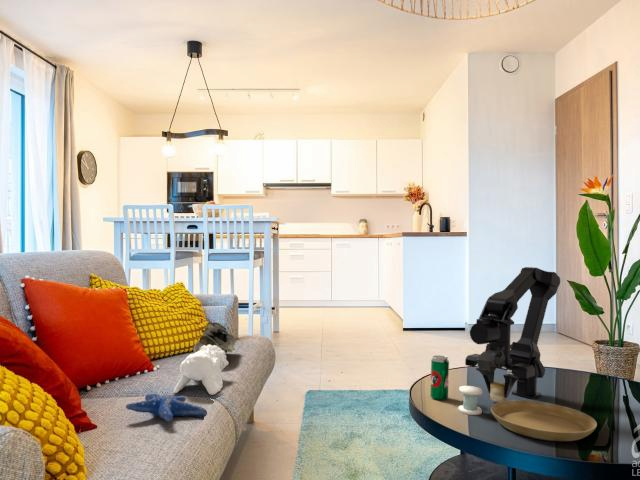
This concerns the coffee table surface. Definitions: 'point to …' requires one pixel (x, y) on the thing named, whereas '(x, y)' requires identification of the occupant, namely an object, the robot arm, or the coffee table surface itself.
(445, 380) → the soda can
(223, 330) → the hollow geode rock
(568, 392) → the coffee table surface
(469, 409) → the white spool
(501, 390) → the brass peg
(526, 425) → the plant saucer
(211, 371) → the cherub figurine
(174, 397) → the starfish
